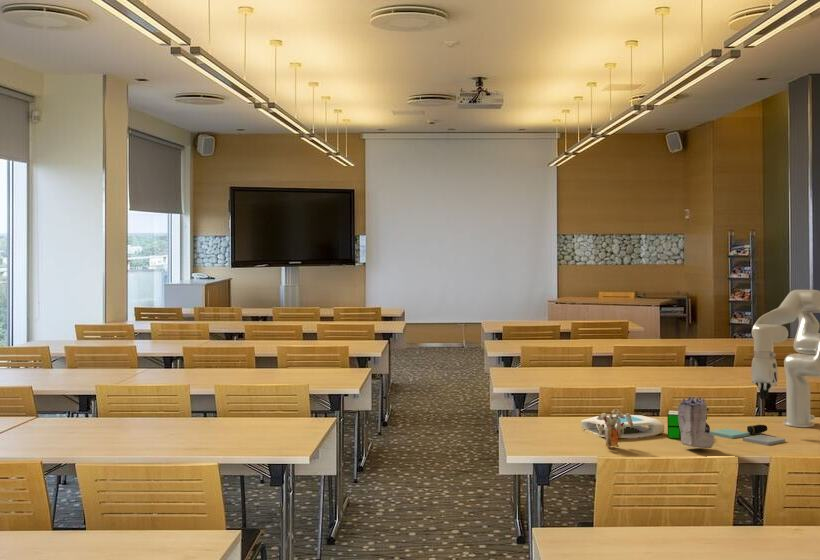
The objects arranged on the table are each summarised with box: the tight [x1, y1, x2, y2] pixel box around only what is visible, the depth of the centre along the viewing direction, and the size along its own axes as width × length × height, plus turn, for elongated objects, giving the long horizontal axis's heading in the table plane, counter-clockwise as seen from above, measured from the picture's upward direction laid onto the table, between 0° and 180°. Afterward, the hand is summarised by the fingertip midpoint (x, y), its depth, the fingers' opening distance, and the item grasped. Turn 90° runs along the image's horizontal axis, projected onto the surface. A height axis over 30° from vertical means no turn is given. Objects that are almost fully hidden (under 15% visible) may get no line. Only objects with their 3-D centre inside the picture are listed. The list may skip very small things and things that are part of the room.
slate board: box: [742, 434, 786, 446], centre depth 325 cm, size 12×11×1 cm
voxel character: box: [597, 408, 633, 448], centre depth 314 cm, size 11×10×15 cm
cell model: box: [677, 396, 715, 449], centre depth 313 cm, size 13×11×20 cm
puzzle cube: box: [667, 410, 681, 440], centre depth 335 cm, size 10×10×10 cm
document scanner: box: [580, 414, 665, 439], centre depth 344 cm, size 21×28×6 cm
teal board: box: [709, 428, 751, 440], centre depth 339 cm, size 12×11×1 cm
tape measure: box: [746, 424, 768, 436], centre depth 338 cm, size 7×7×4 cm
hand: (764, 398), depth 339 cm, fingers closed
